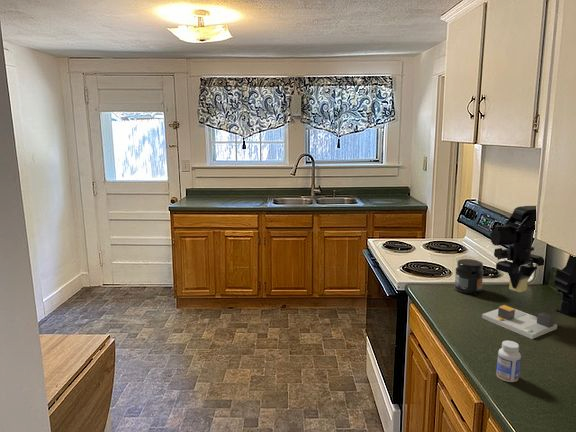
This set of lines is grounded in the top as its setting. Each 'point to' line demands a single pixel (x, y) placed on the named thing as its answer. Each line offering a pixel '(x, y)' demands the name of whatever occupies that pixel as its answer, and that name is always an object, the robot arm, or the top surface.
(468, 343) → the top surface
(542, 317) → the plain toggle
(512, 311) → the tagged toggle
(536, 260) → the robot arm
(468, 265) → the supplement container
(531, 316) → the panel
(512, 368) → the pill bottle
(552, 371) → the top surface
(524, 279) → the block
